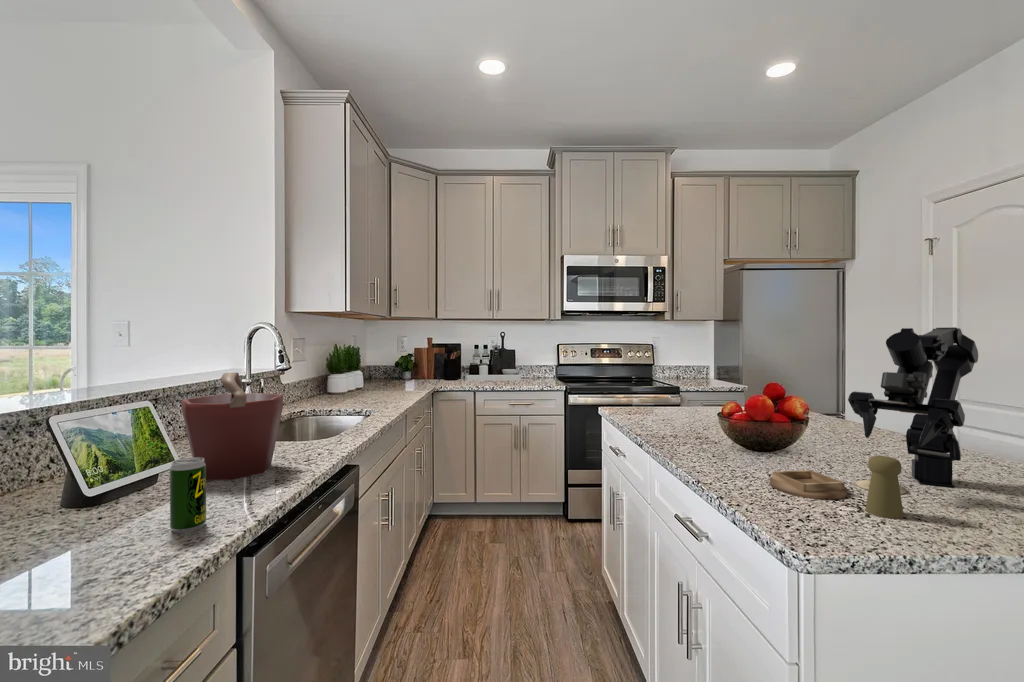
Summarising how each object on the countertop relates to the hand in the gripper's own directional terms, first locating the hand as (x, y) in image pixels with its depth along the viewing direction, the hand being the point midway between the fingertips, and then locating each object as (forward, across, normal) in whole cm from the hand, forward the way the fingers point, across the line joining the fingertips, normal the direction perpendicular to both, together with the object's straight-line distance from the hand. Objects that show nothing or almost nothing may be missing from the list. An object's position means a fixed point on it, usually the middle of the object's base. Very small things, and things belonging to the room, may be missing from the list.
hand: (892, 440), depth 100 cm
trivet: (+12, -15, +6) cm, 20 cm away
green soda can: (+89, -66, -82) cm, 138 cm away
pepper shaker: (+15, +1, +3) cm, 15 cm away
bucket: (+83, -103, -75) cm, 152 cm away
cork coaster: (+3, -5, +16) cm, 17 cm away
